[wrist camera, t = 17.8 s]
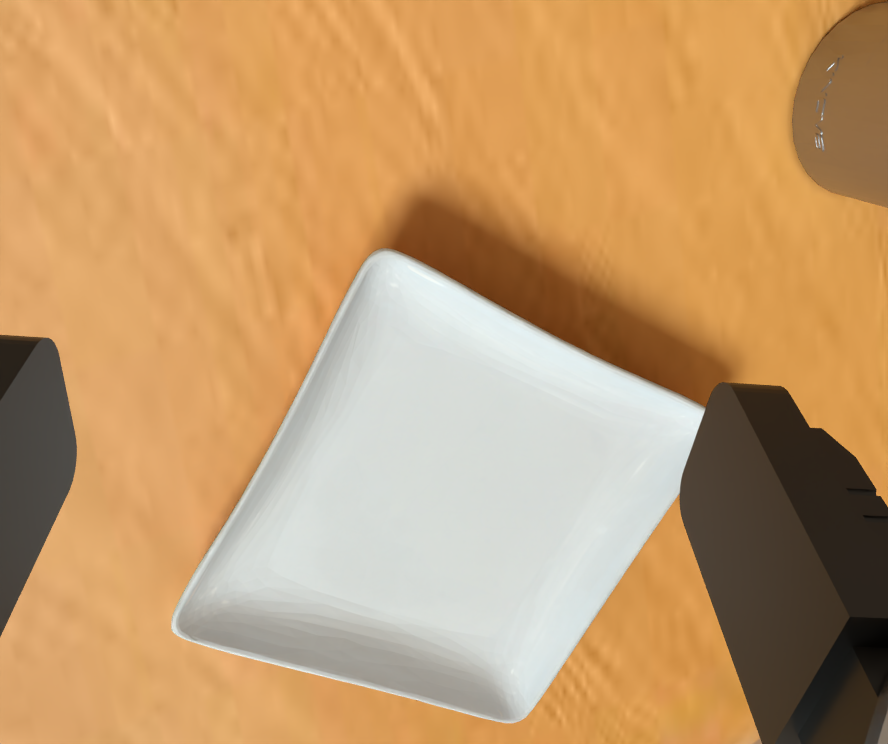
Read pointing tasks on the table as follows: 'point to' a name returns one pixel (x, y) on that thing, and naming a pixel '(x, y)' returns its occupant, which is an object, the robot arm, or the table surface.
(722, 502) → the robot arm
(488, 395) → the salad plate
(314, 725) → the table surface
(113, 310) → the table surface
